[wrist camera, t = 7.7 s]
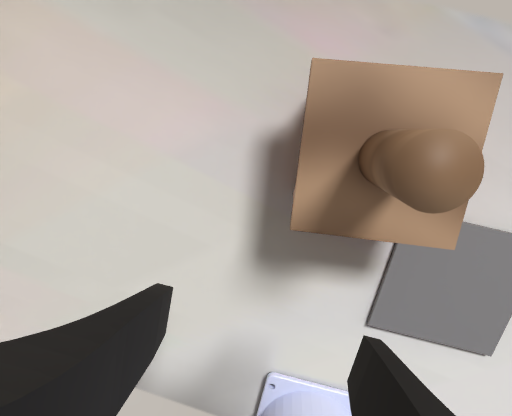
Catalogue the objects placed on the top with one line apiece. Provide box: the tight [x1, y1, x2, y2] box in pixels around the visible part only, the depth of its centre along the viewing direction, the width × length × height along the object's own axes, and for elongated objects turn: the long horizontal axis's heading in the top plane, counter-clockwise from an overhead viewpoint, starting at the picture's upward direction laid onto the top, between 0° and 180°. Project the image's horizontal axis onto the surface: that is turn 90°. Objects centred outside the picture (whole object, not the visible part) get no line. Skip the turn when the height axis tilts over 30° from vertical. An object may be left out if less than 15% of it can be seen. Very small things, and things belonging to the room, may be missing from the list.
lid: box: [290, 58, 503, 250], centre depth 12 cm, size 8×8×6 cm
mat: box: [367, 222, 512, 356], centre depth 20 cm, size 8×8×1 cm
